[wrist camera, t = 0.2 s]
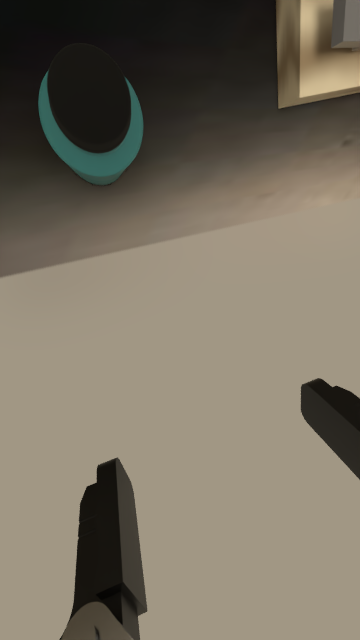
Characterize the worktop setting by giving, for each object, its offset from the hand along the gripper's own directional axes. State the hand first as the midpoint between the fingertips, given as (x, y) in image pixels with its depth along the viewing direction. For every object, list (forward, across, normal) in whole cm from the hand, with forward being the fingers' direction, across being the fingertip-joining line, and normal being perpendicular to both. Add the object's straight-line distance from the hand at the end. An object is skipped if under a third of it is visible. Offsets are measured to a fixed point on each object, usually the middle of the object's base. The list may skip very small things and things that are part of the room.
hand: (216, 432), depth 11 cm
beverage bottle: (+29, 0, -14) cm, 32 cm away
